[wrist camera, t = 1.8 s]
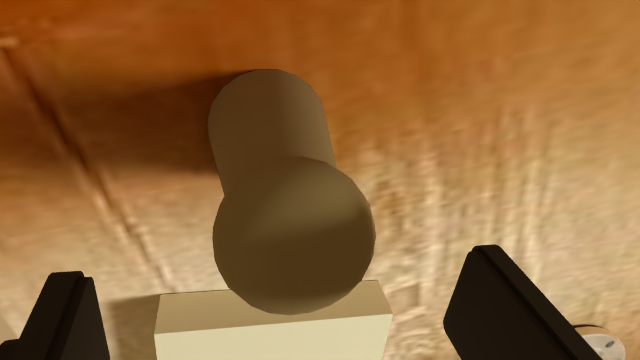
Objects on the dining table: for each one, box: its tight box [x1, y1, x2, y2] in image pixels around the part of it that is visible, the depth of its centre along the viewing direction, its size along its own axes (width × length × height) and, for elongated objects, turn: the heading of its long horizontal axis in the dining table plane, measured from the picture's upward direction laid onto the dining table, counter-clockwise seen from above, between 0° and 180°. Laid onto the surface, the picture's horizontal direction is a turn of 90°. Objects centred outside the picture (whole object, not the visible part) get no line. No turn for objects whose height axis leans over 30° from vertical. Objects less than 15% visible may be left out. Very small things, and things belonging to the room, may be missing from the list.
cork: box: [207, 69, 376, 315], centre depth 17 cm, size 6×6×11 cm
